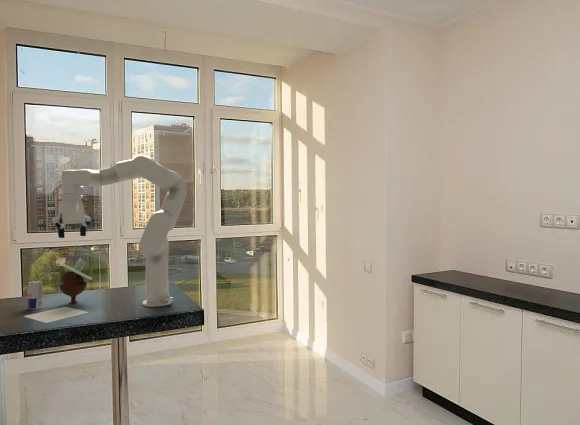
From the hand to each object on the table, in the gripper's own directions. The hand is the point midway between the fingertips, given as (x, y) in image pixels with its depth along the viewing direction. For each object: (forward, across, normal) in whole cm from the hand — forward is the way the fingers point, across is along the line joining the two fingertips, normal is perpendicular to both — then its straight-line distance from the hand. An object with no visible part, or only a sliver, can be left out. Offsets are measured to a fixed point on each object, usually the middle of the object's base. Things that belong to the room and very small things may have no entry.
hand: (72, 236), depth 184 cm
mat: (+30, +14, +12) cm, 36 cm away
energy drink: (+30, +13, -6) cm, 34 cm away
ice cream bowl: (+30, 0, 0) cm, 30 cm away
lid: (+16, -1, 0) cm, 16 cm away
